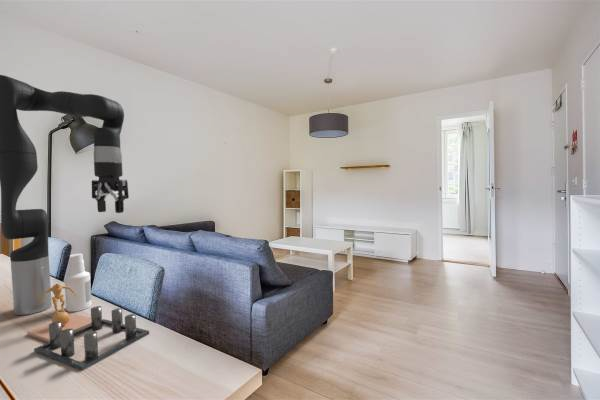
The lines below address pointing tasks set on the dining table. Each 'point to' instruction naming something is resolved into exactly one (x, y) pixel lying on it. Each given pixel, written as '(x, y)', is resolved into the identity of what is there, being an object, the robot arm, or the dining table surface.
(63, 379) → the dining table surface
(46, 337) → the terracotta tile
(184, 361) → the dining table surface
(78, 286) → the white piece
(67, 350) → the standoff field
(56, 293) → the figurine
